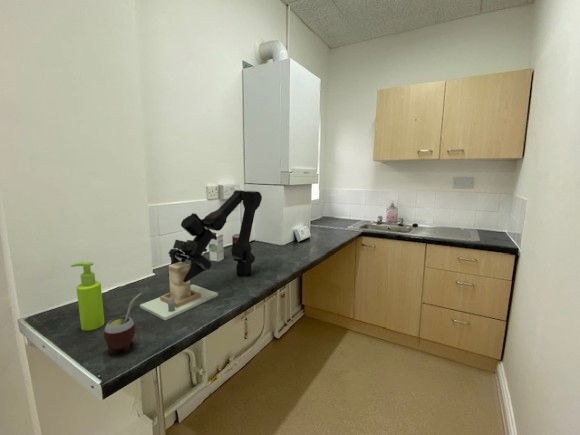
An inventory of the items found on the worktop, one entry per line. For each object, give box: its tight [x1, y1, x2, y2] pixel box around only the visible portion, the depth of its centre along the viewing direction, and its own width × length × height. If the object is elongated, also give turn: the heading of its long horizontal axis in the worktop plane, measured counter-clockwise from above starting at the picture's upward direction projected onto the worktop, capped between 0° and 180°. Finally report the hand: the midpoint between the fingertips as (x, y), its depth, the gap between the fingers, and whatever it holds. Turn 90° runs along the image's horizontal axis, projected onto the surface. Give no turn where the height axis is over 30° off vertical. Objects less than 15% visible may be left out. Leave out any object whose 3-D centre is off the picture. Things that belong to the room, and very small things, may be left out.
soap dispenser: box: [70, 261, 105, 332], centre depth 83 cm, size 6×7×20 cm
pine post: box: [168, 262, 191, 302], centre depth 100 cm, size 5×5×13 cm
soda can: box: [231, 233, 240, 244], centre depth 157 cm, size 7×7×12 cm
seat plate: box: [139, 284, 219, 321], centre depth 101 cm, size 22×15×5 cm
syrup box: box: [208, 232, 225, 263], centre depth 148 cm, size 6×6×14 cm
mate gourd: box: [103, 292, 142, 357], centre depth 73 cm, size 8×8×15 cm
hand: (176, 279), depth 99 cm, fingers open, 9 cm apart
